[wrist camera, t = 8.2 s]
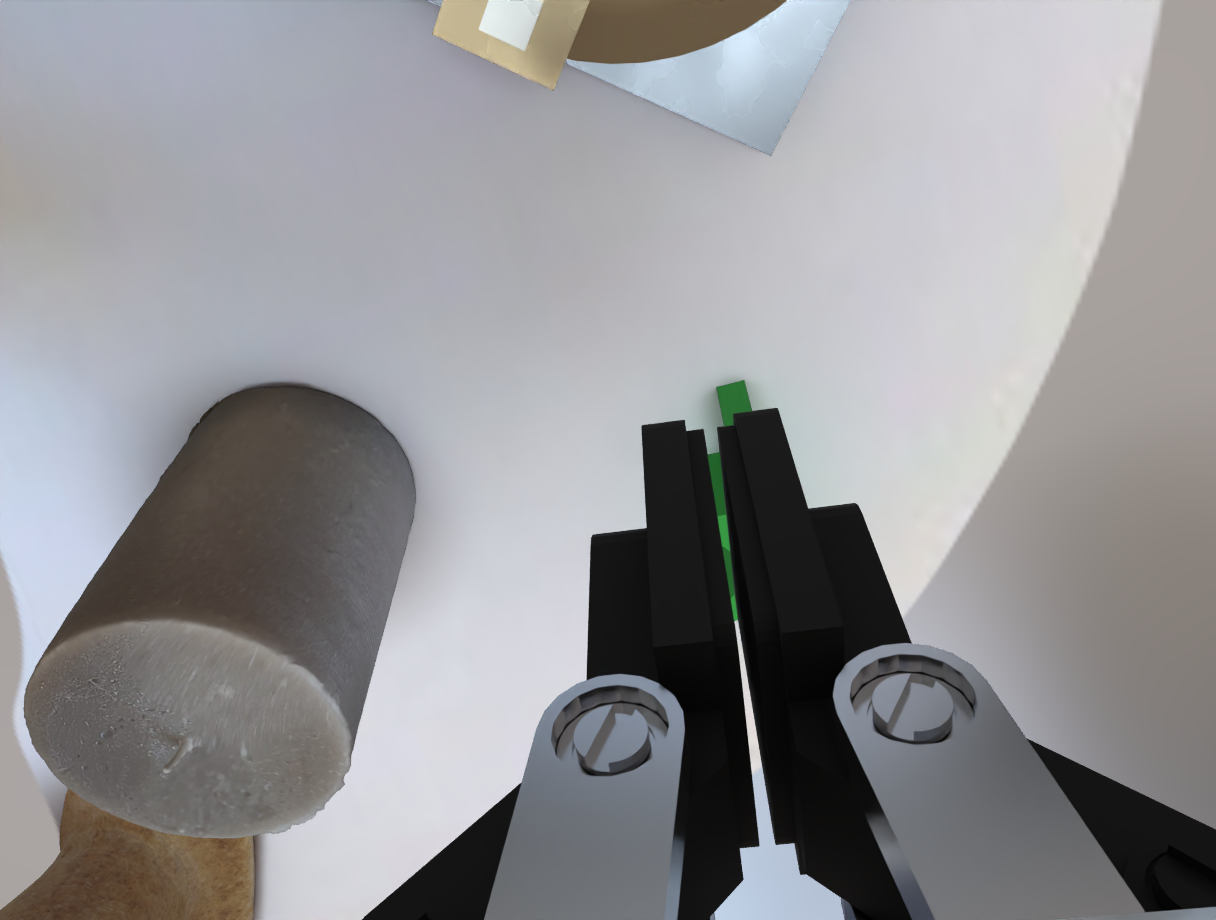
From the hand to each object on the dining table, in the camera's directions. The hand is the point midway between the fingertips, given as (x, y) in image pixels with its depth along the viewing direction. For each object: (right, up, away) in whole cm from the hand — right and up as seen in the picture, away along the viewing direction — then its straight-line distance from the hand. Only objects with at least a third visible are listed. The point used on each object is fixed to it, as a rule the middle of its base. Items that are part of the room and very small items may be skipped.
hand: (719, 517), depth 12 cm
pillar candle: (-14, 0, +29) cm, 32 cm away
